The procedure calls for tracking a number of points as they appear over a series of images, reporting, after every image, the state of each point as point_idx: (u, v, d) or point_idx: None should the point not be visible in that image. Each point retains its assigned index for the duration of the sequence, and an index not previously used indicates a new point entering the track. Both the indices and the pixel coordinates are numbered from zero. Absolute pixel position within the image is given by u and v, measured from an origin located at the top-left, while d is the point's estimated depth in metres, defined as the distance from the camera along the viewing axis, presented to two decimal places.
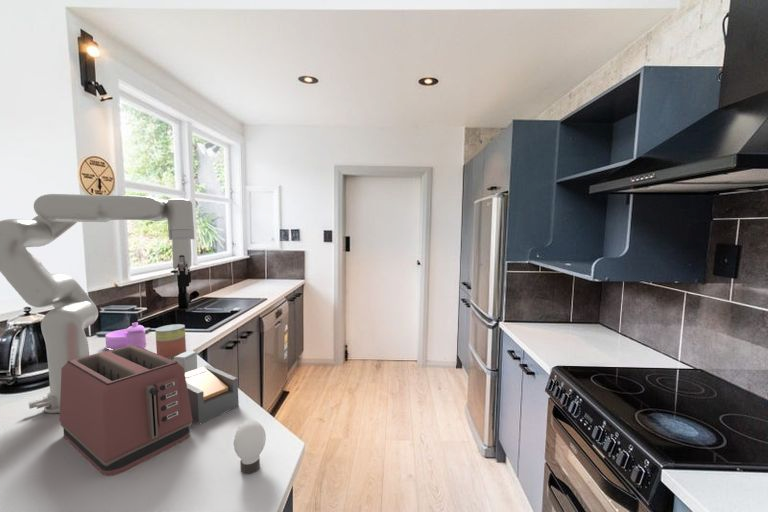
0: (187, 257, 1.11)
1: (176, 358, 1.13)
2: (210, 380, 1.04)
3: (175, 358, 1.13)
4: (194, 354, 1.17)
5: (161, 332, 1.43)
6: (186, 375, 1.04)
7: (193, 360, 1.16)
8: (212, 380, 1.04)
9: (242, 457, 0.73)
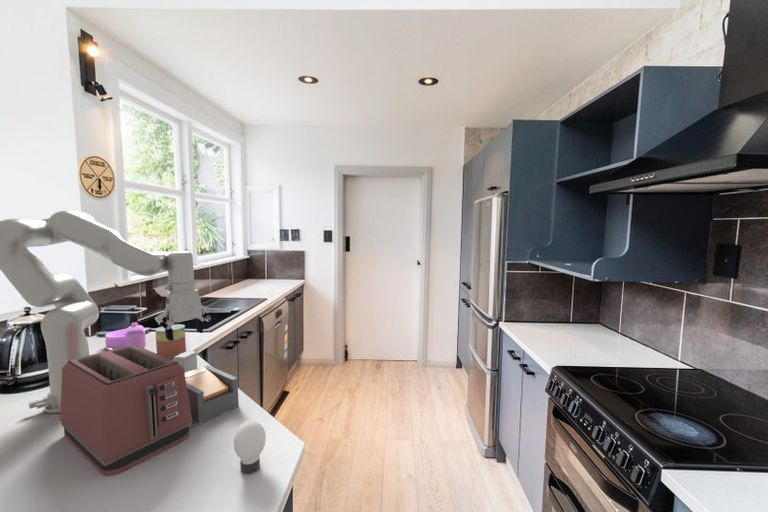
0: None
1: (176, 358, 1.13)
2: (210, 380, 1.04)
3: (175, 358, 1.13)
4: (194, 354, 1.17)
5: (161, 332, 1.43)
6: (186, 375, 1.04)
7: (193, 360, 1.16)
8: (212, 380, 1.04)
9: (242, 457, 0.73)
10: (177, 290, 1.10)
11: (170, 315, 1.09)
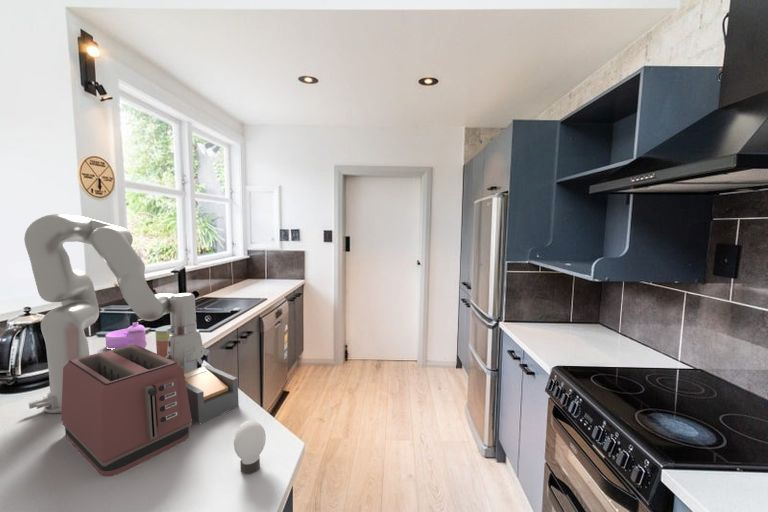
0: None
1: None
2: (210, 380, 1.04)
3: None
4: None
5: (161, 332, 1.43)
6: (186, 375, 1.04)
7: None
8: (212, 380, 1.04)
9: (242, 457, 0.73)
10: (179, 333, 1.11)
11: (172, 358, 1.10)
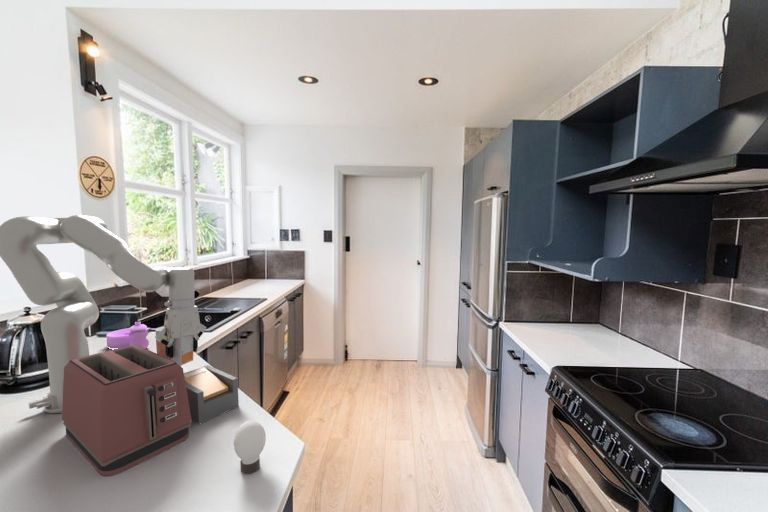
0: None
1: None
2: (210, 380, 1.04)
3: None
4: None
5: None
6: (186, 375, 1.04)
7: None
8: (212, 380, 1.04)
9: (242, 457, 0.73)
10: (177, 307, 1.11)
11: (168, 331, 1.10)
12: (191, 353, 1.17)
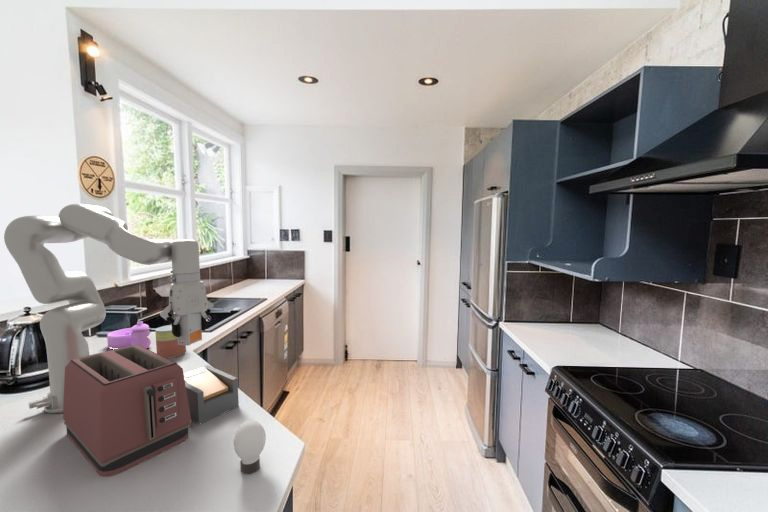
0: None
1: None
2: (210, 380, 1.04)
3: None
4: None
5: (161, 332, 1.43)
6: (186, 375, 1.04)
7: (197, 313, 1.07)
8: (212, 380, 1.04)
9: (242, 457, 0.73)
10: (182, 281, 1.02)
11: (174, 308, 1.01)
12: (199, 332, 1.09)
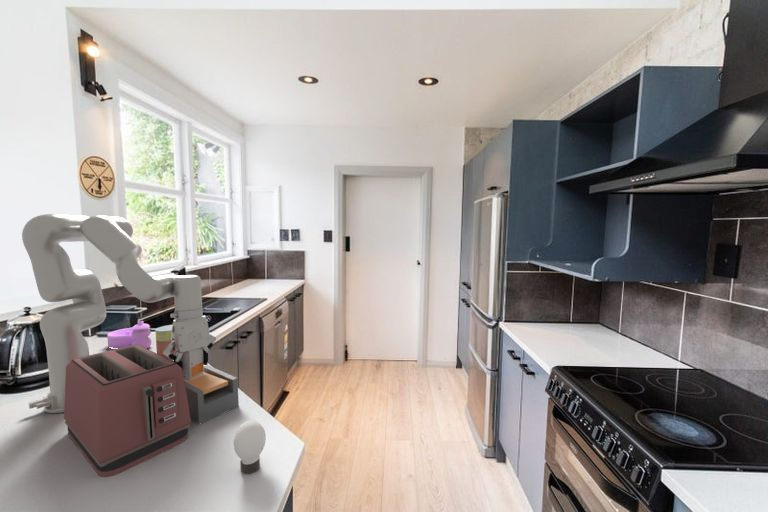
0: None
1: None
2: (210, 379, 1.04)
3: None
4: None
5: (161, 332, 1.43)
6: (186, 379, 1.04)
7: None
8: (212, 379, 1.04)
9: (242, 457, 0.73)
10: (184, 318, 1.02)
11: (176, 345, 1.01)
12: (201, 364, 1.09)
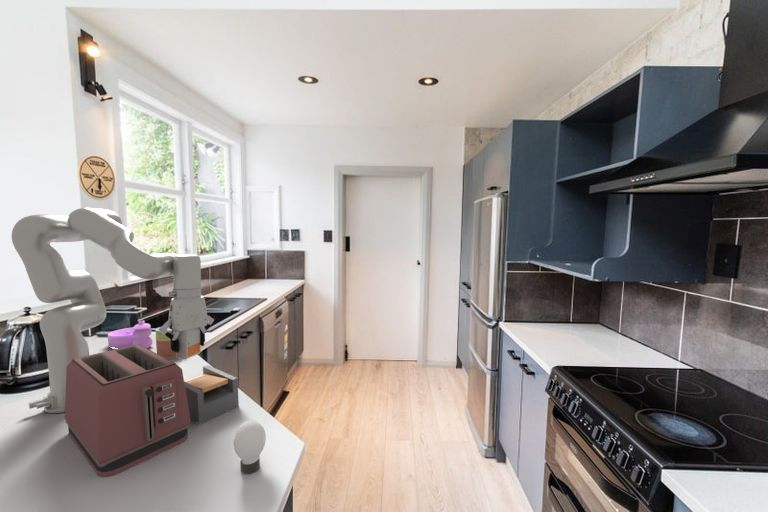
0: None
1: None
2: (210, 379, 1.04)
3: None
4: None
5: None
6: (186, 380, 1.04)
7: None
8: (212, 378, 1.04)
9: (242, 457, 0.73)
10: (182, 297, 1.02)
11: (173, 324, 1.01)
12: (198, 345, 1.08)
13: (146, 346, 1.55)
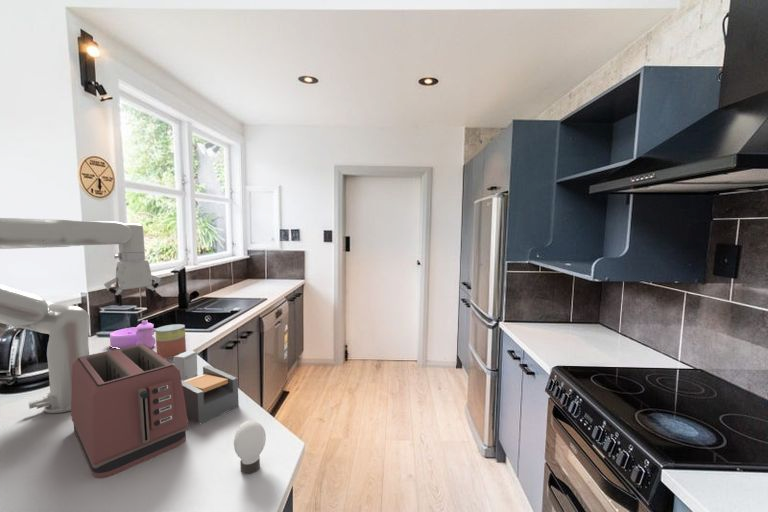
0: None
1: (176, 358, 1.13)
2: (210, 379, 1.04)
3: (175, 358, 1.13)
4: (194, 354, 1.17)
5: (161, 332, 1.43)
6: (186, 380, 1.04)
7: (193, 360, 1.16)
8: (212, 378, 1.04)
9: (242, 457, 0.73)
10: (126, 259, 1.18)
11: (119, 282, 1.18)
12: None
13: (149, 345, 1.56)
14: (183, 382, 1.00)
